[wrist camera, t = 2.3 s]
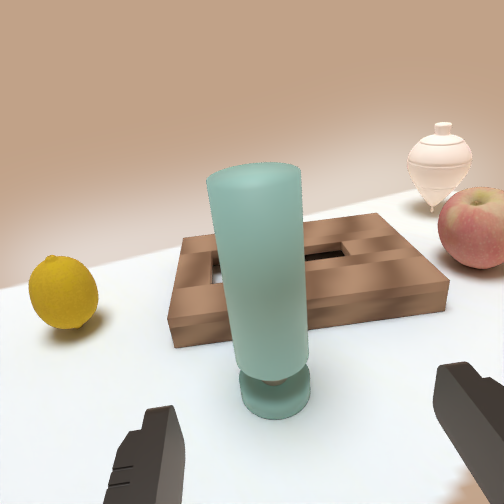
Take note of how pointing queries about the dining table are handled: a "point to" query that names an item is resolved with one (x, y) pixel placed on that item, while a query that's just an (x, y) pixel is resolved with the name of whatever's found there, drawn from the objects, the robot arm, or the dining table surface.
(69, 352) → the dining table surface
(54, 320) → the lemon
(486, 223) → the apple
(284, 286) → the headed peg
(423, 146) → the spinning top
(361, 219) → the keyhole plate
